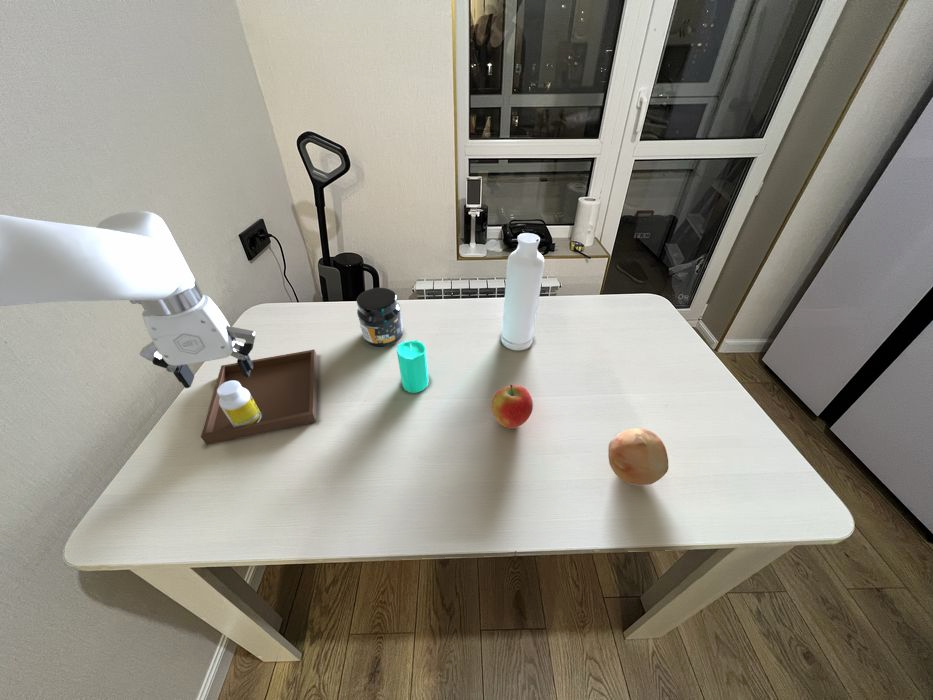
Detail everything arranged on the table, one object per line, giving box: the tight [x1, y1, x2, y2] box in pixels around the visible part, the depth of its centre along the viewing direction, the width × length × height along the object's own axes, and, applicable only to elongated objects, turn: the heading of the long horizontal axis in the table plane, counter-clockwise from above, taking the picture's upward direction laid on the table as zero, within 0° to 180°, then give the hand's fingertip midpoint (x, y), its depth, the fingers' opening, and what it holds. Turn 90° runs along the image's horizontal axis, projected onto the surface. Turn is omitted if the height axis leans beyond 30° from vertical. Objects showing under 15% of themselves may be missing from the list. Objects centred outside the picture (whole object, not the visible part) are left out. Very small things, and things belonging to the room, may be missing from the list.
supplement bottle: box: [217, 381, 261, 427], centre depth 74 cm, size 5×5×10 cm
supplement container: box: [356, 287, 404, 348], centre depth 95 cm, size 10×10×12 cm
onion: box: [607, 427, 669, 486], centre depth 66 cm, size 10×10×10 cm
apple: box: [490, 384, 534, 429], centre depth 75 cm, size 8×8×10 cm
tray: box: [200, 348, 318, 446], centre depth 82 cm, size 21×21×3 cm
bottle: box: [500, 232, 546, 351], centre depth 89 cm, size 8×8×28 cm
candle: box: [396, 339, 429, 394], centre depth 82 cm, size 6×6×12 cm
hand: (220, 377), depth 69 cm, fingers open, 9 cm apart
